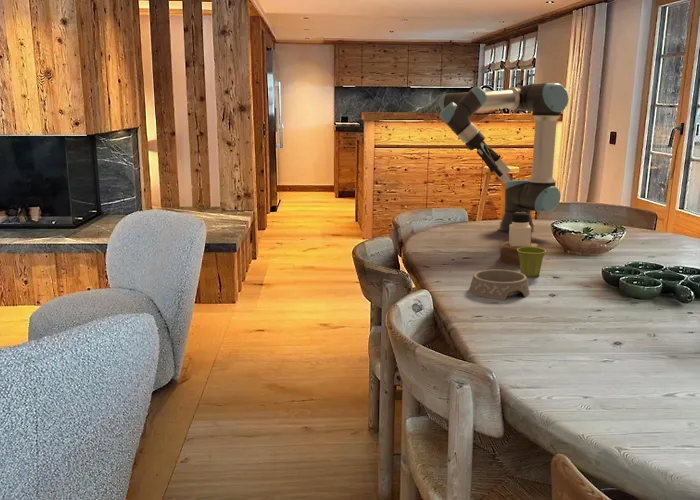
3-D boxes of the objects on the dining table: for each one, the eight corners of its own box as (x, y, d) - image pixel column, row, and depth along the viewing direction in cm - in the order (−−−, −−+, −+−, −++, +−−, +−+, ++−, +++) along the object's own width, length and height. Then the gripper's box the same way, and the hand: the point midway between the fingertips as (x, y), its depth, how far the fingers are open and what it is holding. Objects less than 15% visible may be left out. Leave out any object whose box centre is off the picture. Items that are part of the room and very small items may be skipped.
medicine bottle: (531, 247, 224) (532, 214, 221) (510, 246, 225) (511, 214, 222) (528, 243, 231) (529, 211, 228) (508, 243, 232) (509, 211, 229)
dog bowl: (459, 287, 197) (459, 271, 196) (508, 281, 204) (509, 265, 202) (488, 303, 182) (489, 285, 181) (541, 296, 188) (542, 279, 187)
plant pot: (545, 279, 205) (547, 253, 203) (516, 277, 207) (517, 252, 205) (543, 271, 214) (544, 247, 212) (514, 270, 216) (516, 246, 214)
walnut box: (504, 257, 236) (505, 241, 235) (537, 259, 232) (538, 243, 231) (499, 264, 226) (500, 247, 224) (534, 267, 221) (535, 250, 220)
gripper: (466, 137, 255) (501, 175, 257) (461, 150, 233) (498, 191, 235) (481, 124, 252) (515, 163, 254) (476, 137, 230) (514, 179, 232)
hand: (507, 177), depth 245 cm, fingers open, 13 cm apart
